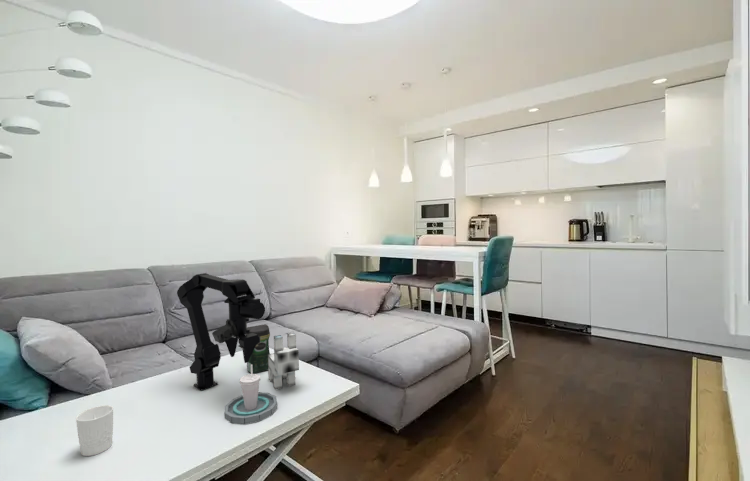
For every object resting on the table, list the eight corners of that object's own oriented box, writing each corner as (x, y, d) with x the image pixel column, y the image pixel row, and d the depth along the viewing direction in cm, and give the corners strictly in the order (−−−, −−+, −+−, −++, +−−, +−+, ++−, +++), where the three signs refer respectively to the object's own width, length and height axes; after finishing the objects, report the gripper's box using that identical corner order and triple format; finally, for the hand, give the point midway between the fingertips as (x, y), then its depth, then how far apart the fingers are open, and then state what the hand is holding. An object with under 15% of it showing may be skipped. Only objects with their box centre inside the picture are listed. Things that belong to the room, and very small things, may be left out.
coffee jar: (268, 363, 152) (266, 321, 152) (273, 369, 146) (272, 326, 145) (245, 368, 147) (243, 325, 146) (249, 375, 141) (247, 330, 140)
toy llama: (285, 372, 142) (284, 324, 141) (299, 390, 127) (298, 336, 126) (267, 377, 139) (265, 327, 138) (279, 395, 124) (277, 340, 123)
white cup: (92, 440, 99) (90, 406, 99) (121, 438, 100) (119, 404, 99) (70, 459, 91) (68, 421, 91) (102, 456, 92) (100, 419, 91)
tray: (215, 412, 113) (215, 406, 113) (259, 393, 125) (259, 387, 125) (241, 430, 103) (241, 423, 103) (286, 407, 115) (286, 401, 115)
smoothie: (260, 410, 111) (258, 367, 111) (238, 413, 110) (237, 369, 110) (262, 401, 118) (261, 360, 117) (242, 403, 116) (241, 362, 116)
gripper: (202, 316, 122) (203, 360, 123) (229, 325, 110) (231, 374, 111) (232, 310, 131) (233, 351, 131) (260, 318, 119) (262, 363, 120)
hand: (239, 359), depth 123 cm, fingers open, 9 cm apart
